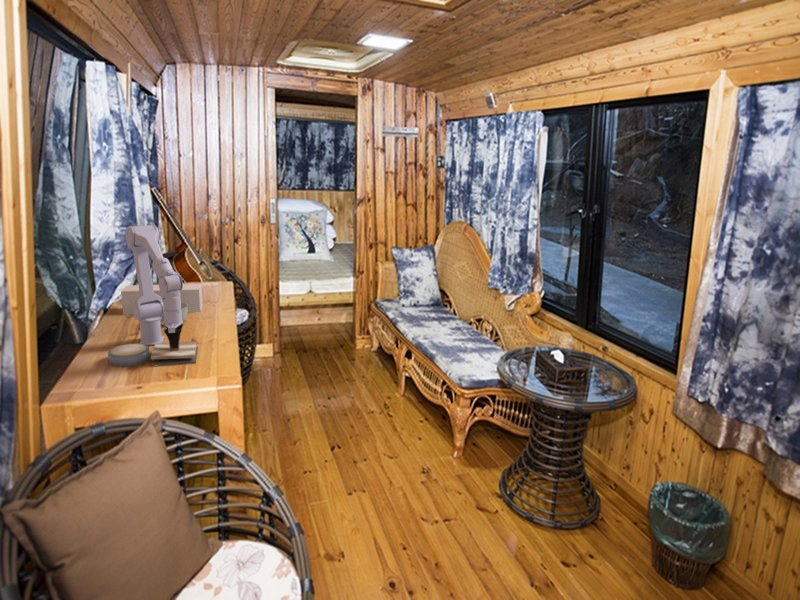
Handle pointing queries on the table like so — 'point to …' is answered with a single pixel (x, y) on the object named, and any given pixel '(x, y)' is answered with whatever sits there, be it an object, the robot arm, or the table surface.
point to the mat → (175, 360)
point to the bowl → (128, 355)
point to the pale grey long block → (188, 295)
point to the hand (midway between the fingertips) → (175, 346)
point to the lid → (174, 351)
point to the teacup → (183, 311)
